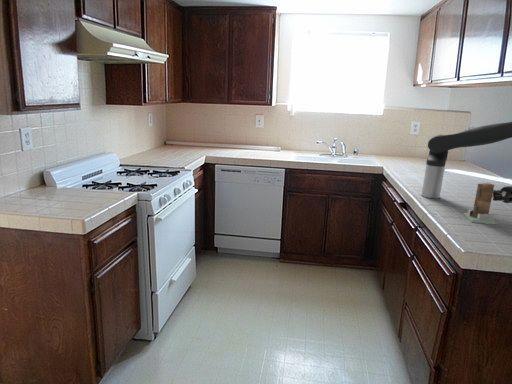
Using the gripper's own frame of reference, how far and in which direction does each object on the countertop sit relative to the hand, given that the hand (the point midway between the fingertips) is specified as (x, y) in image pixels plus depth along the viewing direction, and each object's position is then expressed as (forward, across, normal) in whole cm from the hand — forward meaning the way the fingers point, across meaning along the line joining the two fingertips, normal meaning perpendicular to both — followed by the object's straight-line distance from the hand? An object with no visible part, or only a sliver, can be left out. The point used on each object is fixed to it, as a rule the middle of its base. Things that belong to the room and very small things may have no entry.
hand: (485, 195), depth 177 cm
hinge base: (+1, 0, +11) cm, 11 cm away
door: (+1, 0, +10) cm, 10 cm away
